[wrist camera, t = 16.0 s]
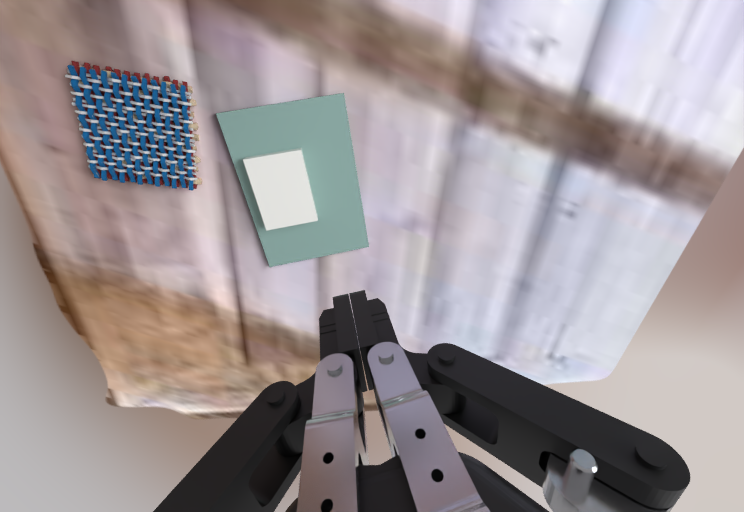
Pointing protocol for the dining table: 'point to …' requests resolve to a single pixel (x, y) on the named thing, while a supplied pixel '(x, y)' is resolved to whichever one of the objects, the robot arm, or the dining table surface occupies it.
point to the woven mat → (135, 126)
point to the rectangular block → (281, 188)
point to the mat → (324, 167)
